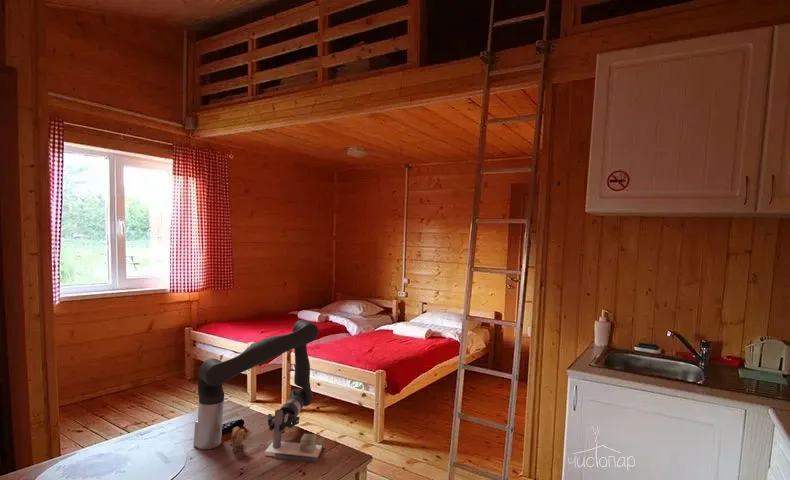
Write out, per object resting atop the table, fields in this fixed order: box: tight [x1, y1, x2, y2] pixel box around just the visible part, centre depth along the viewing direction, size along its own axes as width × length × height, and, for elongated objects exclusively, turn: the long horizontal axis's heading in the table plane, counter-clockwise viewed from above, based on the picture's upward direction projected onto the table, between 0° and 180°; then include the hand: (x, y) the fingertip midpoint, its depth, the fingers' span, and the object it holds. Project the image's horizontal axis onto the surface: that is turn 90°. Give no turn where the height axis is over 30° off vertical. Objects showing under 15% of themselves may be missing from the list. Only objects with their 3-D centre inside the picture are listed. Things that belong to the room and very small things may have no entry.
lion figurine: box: [229, 426, 249, 453], centre depth 165 cm, size 15×5×9 cm, turn 35°
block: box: [299, 433, 318, 453], centre depth 163 cm, size 5×5×5 cm
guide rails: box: [274, 440, 325, 463], centre depth 163 cm, size 16×12×2 cm
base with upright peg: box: [264, 408, 323, 459], centre depth 163 cm, size 20×9×16 cm, turn 86°
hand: (275, 428), depth 161 cm, fingers closed on base with upright peg, 3 cm apart
